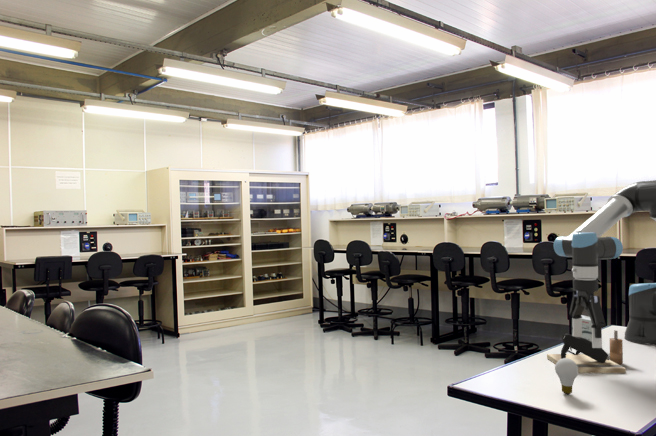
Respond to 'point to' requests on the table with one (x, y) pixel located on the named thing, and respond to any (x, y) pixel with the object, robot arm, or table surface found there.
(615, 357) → the awl
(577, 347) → the gun
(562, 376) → the light bulb
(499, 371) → the table surface
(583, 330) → the ink box
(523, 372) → the table surface
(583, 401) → the table surface
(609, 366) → the board
